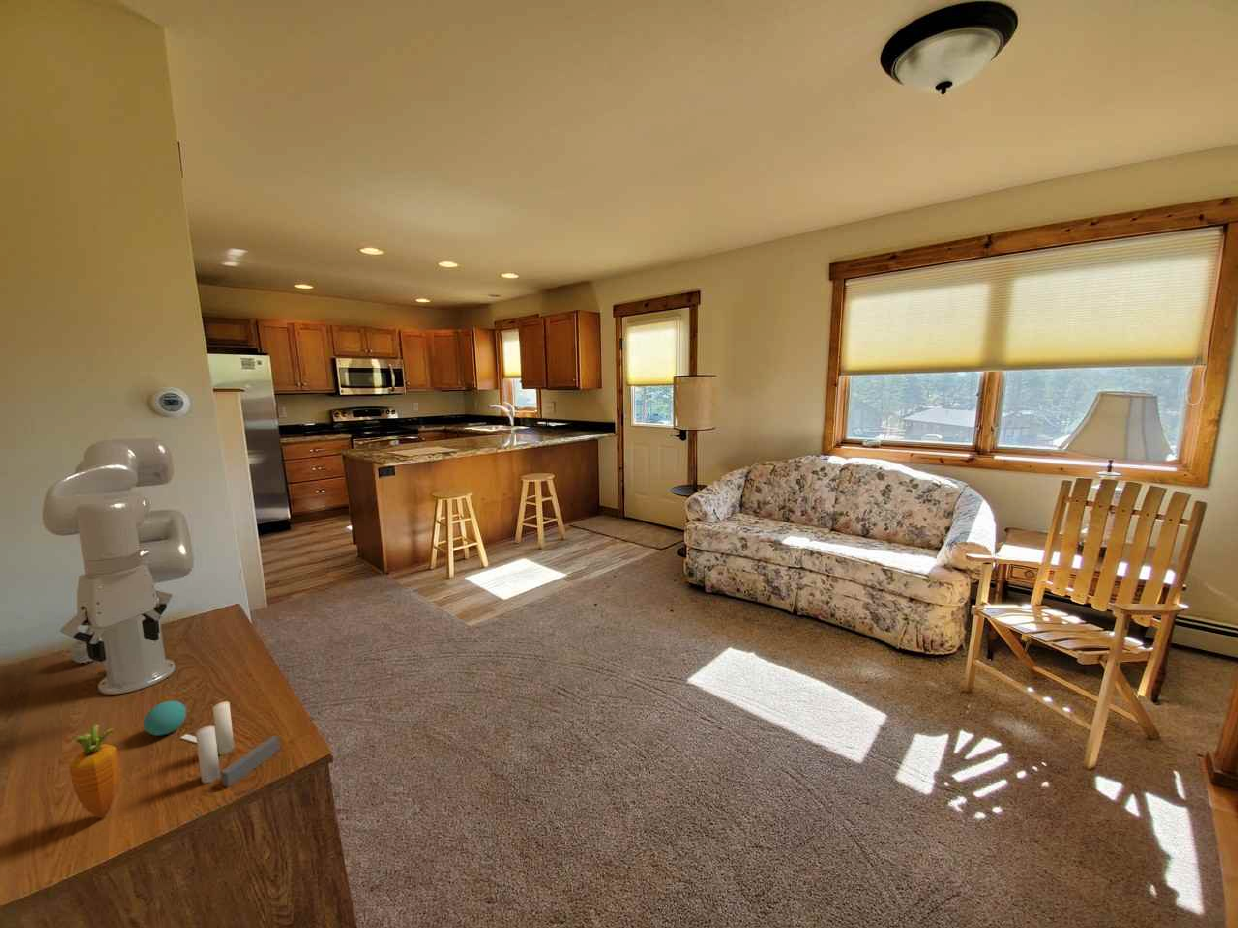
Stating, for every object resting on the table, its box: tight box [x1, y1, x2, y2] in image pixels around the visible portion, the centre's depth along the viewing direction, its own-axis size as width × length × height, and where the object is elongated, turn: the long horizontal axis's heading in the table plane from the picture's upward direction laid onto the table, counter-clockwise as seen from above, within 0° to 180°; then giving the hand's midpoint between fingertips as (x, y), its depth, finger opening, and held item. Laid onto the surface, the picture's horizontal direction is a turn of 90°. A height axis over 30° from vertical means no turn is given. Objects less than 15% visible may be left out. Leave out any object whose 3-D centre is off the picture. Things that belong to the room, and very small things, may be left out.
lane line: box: [179, 733, 217, 745], centre depth 91 cm, size 9×1×1 cm, turn 73°
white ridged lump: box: [68, 637, 102, 664], centre depth 117 cm, size 6×7×7 cm
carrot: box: [69, 724, 120, 819], centre depth 74 cm, size 5×5×15 cm
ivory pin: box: [212, 700, 235, 756], centre depth 89 cm, size 2×2×9 cm
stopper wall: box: [220, 735, 281, 788], centre depth 85 cm, size 2×9×2 cm, turn 163°
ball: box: [143, 700, 187, 736], centre depth 93 cm, size 6×6×6 cm
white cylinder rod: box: [195, 725, 221, 784], centre depth 82 cm, size 2×2×9 cm
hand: (126, 648), depth 94 cm, fingers open, 7 cm apart
